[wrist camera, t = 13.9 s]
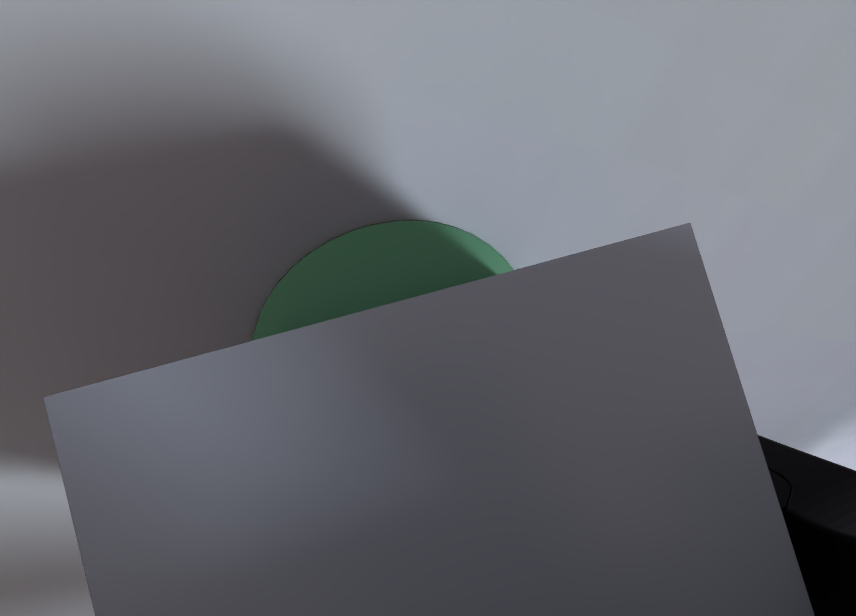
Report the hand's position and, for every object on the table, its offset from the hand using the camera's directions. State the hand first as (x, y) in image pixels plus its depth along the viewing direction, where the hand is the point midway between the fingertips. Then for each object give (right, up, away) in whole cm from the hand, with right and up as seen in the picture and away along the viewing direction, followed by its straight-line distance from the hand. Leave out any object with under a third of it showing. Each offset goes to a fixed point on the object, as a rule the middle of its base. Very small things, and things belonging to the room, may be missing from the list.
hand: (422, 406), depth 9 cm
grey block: (0, -1, +1) cm, 2 cm away
